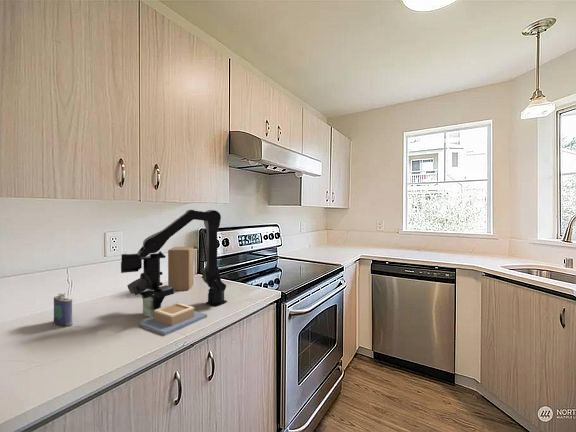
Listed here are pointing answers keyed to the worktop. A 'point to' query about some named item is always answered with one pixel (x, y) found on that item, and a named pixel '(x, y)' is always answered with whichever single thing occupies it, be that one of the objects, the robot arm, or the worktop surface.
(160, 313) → the build base
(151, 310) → the sage block
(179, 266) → the wooden block
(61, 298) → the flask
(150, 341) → the worktop surface
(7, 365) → the worktop surface
